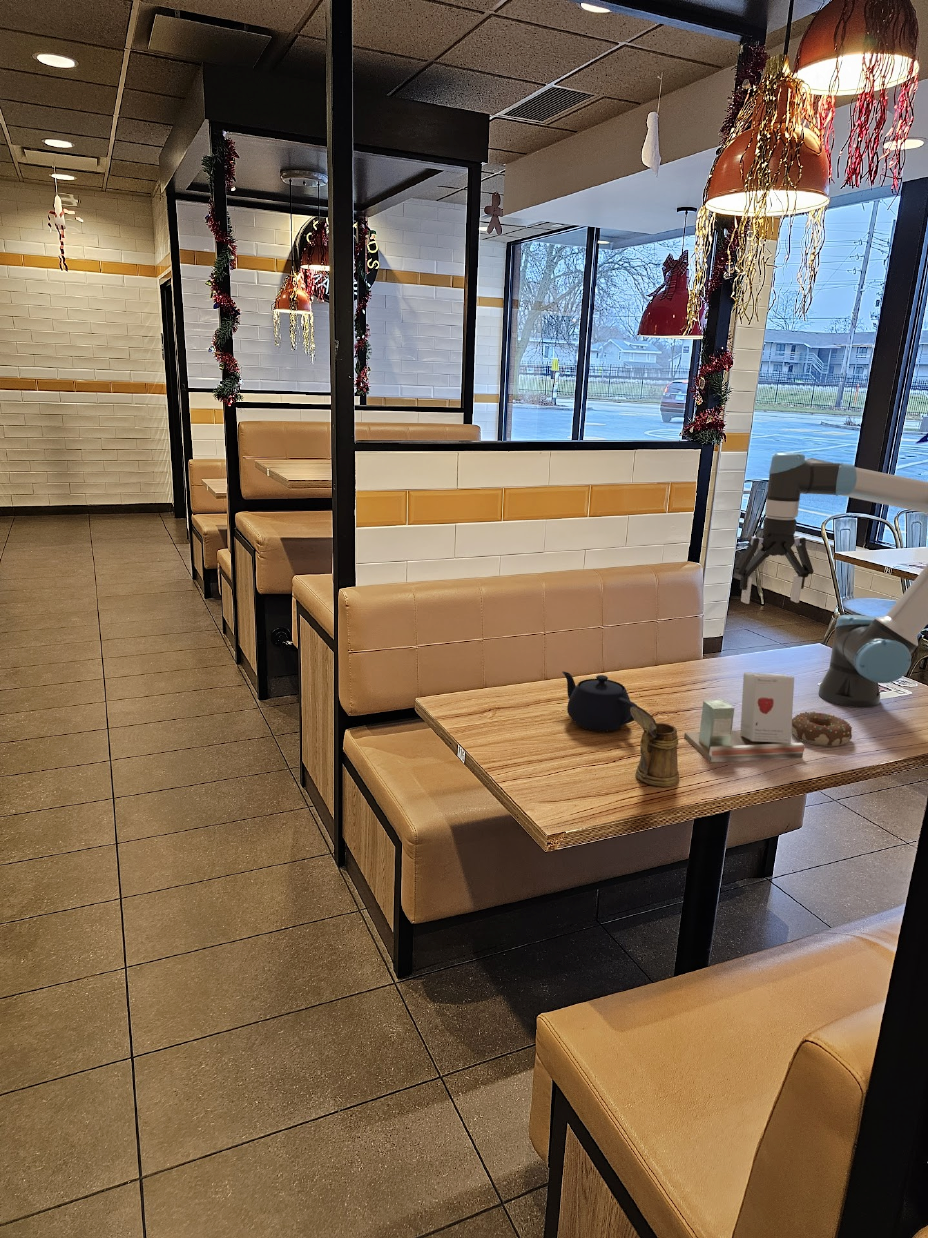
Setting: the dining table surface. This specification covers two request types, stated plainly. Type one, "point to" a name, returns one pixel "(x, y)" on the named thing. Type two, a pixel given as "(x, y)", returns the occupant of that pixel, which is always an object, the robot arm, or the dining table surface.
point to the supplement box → (767, 707)
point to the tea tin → (716, 723)
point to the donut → (821, 729)
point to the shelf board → (746, 749)
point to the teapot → (598, 703)
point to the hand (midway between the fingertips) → (769, 602)
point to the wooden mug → (656, 751)
